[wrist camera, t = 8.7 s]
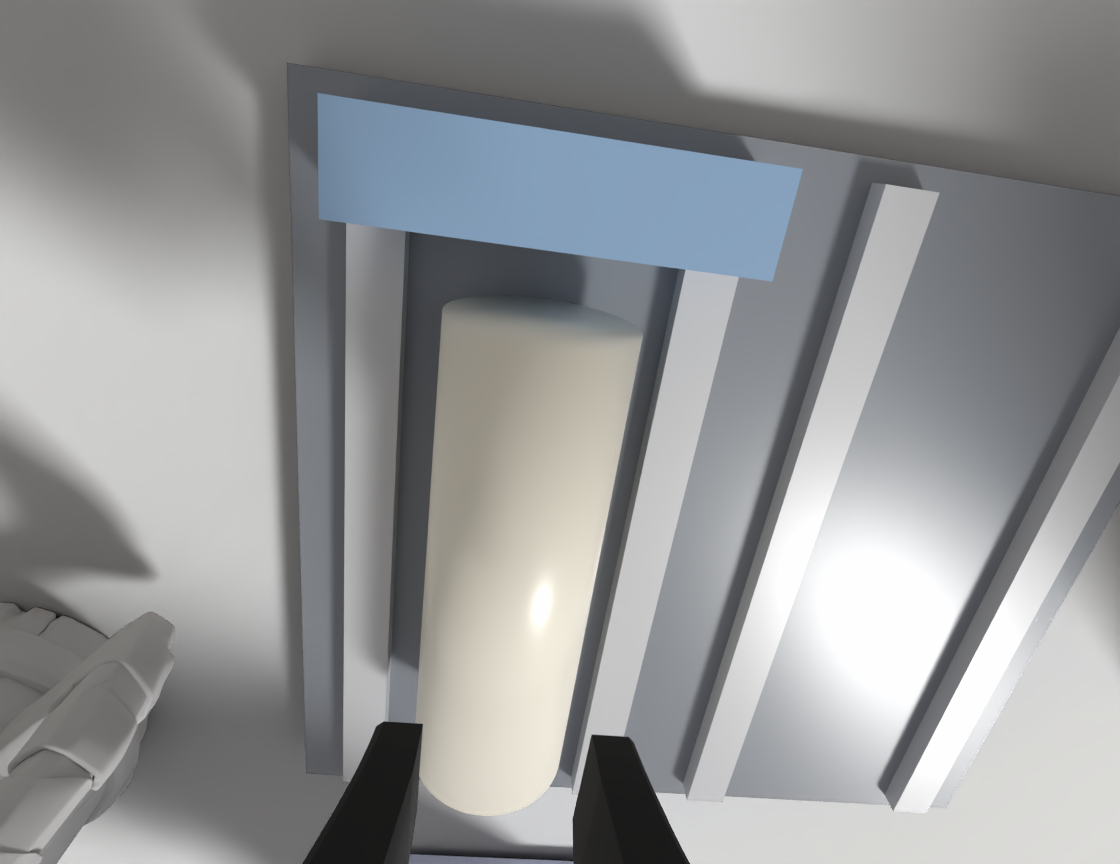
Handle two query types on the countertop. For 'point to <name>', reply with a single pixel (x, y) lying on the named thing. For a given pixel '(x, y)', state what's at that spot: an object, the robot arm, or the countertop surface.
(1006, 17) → the countertop surface
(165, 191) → the countertop surface
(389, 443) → the board
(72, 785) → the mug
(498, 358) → the cream paper roll
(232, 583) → the countertop surface
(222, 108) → the countertop surface
